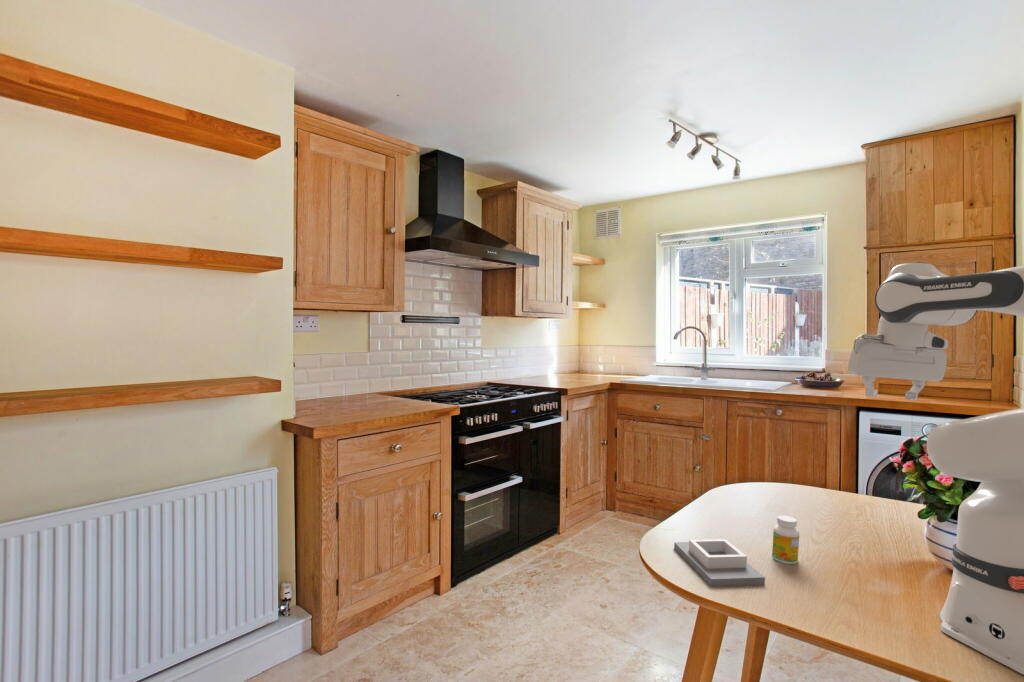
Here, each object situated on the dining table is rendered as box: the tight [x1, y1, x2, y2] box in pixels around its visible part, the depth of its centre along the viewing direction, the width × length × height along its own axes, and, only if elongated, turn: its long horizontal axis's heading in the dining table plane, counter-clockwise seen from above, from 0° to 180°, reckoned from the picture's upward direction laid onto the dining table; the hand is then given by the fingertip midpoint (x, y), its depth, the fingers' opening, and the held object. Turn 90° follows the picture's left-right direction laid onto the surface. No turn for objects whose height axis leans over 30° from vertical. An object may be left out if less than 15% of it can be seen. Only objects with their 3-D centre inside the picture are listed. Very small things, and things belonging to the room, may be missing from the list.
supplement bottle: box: [771, 515, 800, 565], centre depth 124 cm, size 5×5×10 cm
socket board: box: [673, 538, 766, 587], centre depth 120 cm, size 18×12×4 cm, turn 7°
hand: (890, 398), depth 119 cm, fingers open, 8 cm apart
